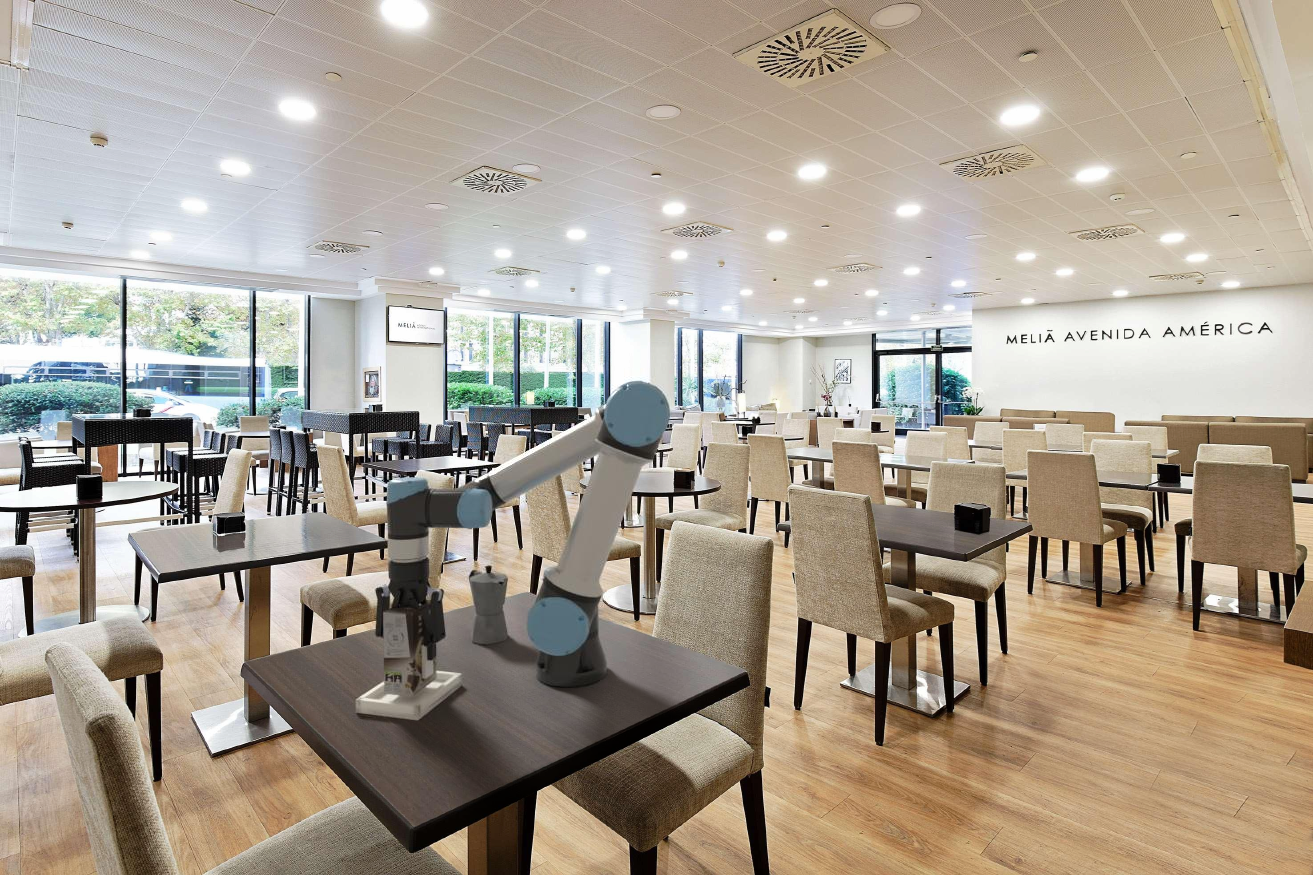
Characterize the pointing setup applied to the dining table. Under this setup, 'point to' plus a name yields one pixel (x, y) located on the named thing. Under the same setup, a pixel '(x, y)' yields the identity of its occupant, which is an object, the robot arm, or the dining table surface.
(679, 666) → the dining table surface
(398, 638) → the coffee box
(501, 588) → the coffeepot
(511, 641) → the dining table surface
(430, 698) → the tray
